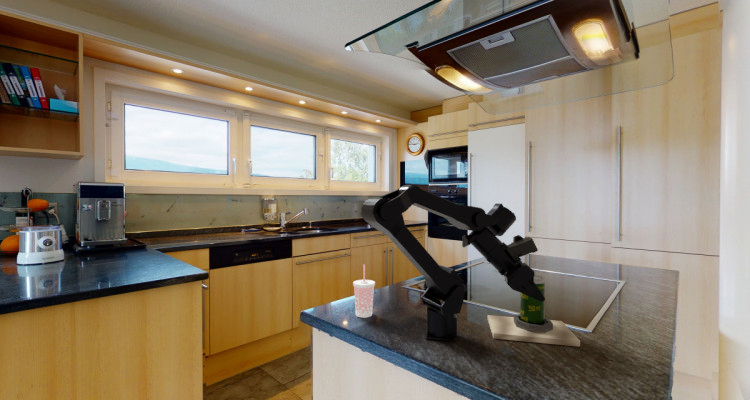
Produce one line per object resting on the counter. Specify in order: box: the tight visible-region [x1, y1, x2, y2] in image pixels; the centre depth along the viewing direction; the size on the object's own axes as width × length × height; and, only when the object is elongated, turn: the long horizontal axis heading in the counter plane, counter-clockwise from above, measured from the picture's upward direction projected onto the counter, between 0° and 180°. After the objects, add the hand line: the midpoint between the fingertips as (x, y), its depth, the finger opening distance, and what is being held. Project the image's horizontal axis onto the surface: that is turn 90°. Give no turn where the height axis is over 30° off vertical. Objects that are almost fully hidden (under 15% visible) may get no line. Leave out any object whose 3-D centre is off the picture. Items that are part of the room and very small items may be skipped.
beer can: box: [519, 274, 546, 325], centre depth 80 cm, size 5×5×12 cm
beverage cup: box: [352, 263, 376, 319], centre depth 90 cm, size 6×6×14 cm
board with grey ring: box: [487, 313, 581, 347], centre depth 79 cm, size 18×12×3 cm, turn 77°
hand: (538, 294), depth 80 cm, fingers open, 9 cm apart
